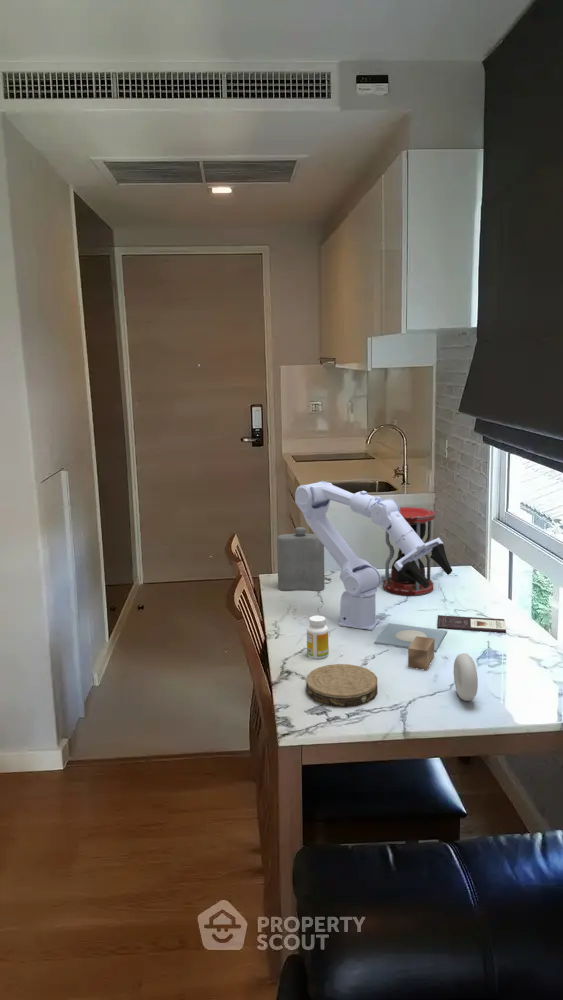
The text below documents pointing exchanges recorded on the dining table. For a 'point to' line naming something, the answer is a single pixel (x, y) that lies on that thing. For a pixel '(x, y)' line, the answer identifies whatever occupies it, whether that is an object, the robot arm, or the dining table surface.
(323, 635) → the supplement bottle
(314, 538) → the flask
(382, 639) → the rubber mat
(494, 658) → the dining table surface
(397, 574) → the hourglass
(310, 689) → the wooden log slice
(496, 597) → the dining table surface
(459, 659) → the donut
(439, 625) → the chocolate bar
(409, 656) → the walnut block
